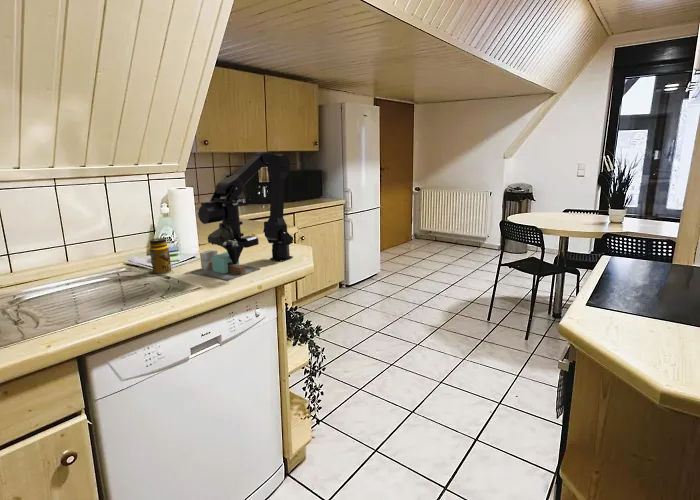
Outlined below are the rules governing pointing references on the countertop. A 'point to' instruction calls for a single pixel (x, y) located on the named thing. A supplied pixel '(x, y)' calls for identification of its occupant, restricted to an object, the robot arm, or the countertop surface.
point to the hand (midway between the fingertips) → (235, 264)
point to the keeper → (221, 262)
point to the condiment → (159, 257)
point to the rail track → (208, 271)
